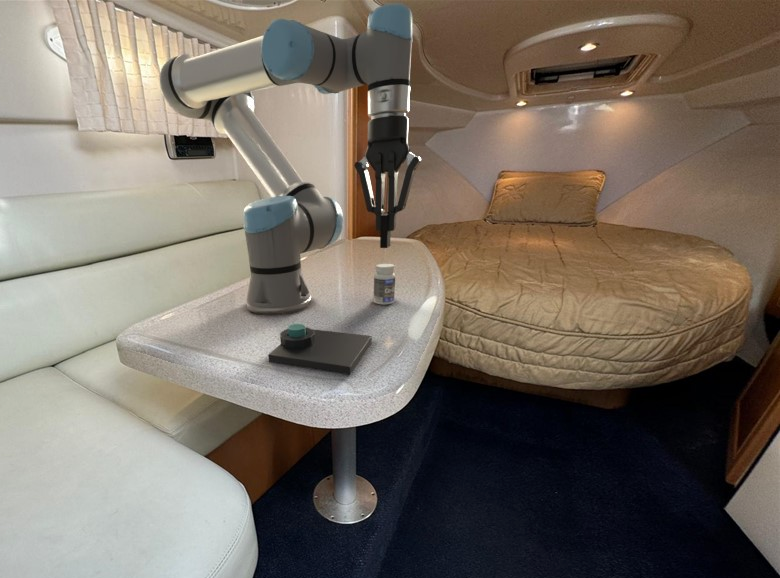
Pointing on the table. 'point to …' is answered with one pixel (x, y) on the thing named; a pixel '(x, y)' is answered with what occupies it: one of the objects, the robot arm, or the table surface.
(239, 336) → the table surface
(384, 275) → the pill bottle
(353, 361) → the dark grey base board
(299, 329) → the power button
